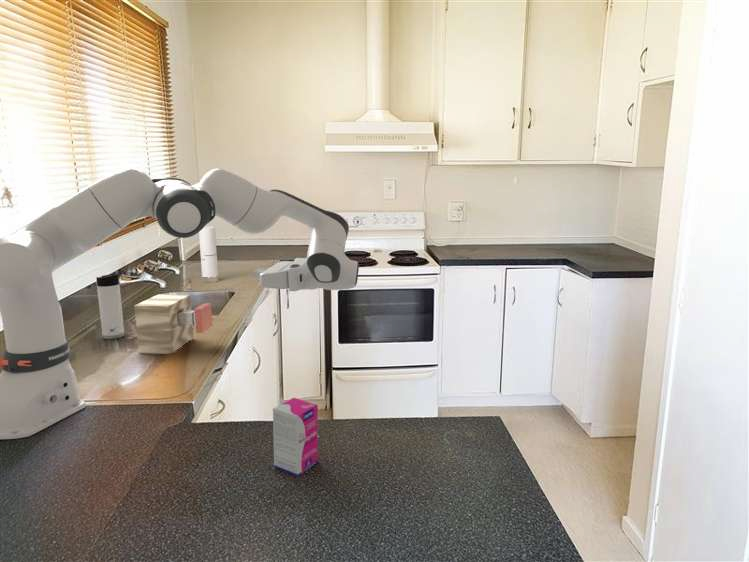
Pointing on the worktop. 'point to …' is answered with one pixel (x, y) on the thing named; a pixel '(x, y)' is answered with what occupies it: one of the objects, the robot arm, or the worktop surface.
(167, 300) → the block
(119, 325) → the travel mug
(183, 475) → the worktop surface
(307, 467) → the supplement box
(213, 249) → the cylindrical container
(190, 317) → the pink-tipped peg
